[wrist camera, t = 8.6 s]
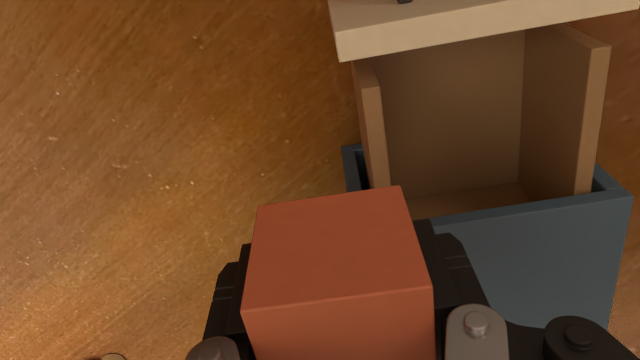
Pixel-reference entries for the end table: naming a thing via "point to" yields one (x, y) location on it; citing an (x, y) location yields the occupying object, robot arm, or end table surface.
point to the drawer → (475, 97)
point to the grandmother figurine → (112, 357)
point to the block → (338, 281)
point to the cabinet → (538, 248)
